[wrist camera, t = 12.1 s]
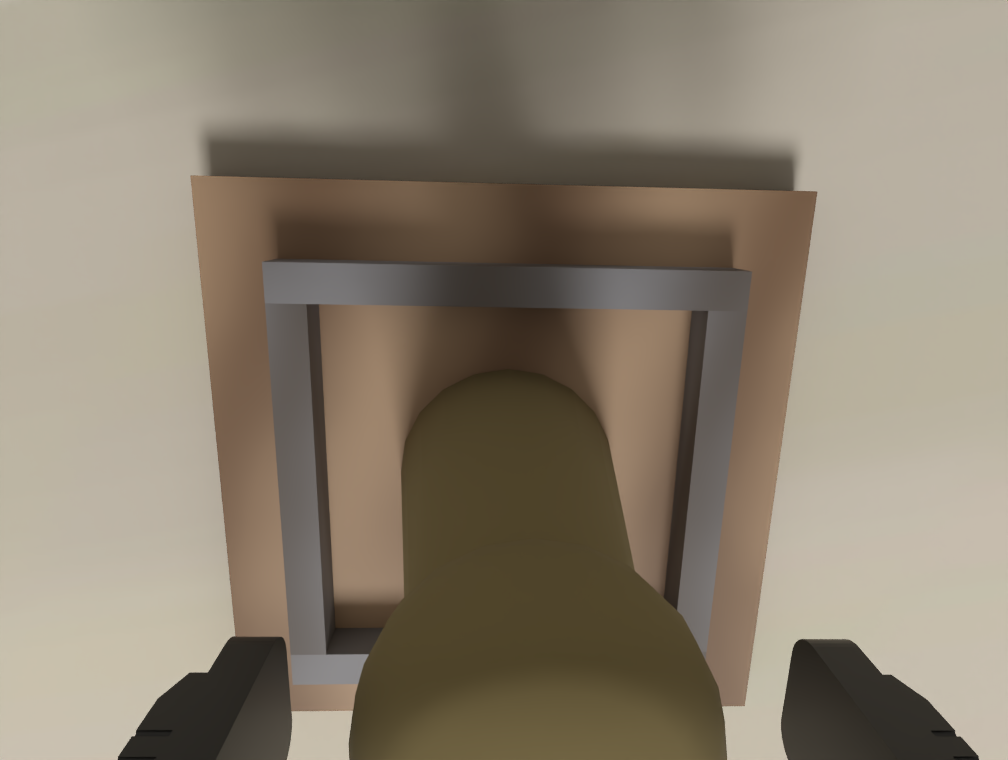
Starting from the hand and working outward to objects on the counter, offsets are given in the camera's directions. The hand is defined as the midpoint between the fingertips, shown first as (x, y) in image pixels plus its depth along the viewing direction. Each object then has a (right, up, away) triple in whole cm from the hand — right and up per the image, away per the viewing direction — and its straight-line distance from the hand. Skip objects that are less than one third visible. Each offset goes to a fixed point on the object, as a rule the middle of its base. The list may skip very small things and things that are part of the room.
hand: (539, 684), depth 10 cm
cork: (0, +2, +8) cm, 9 cm away
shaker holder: (-1, +2, +9) cm, 10 cm away
